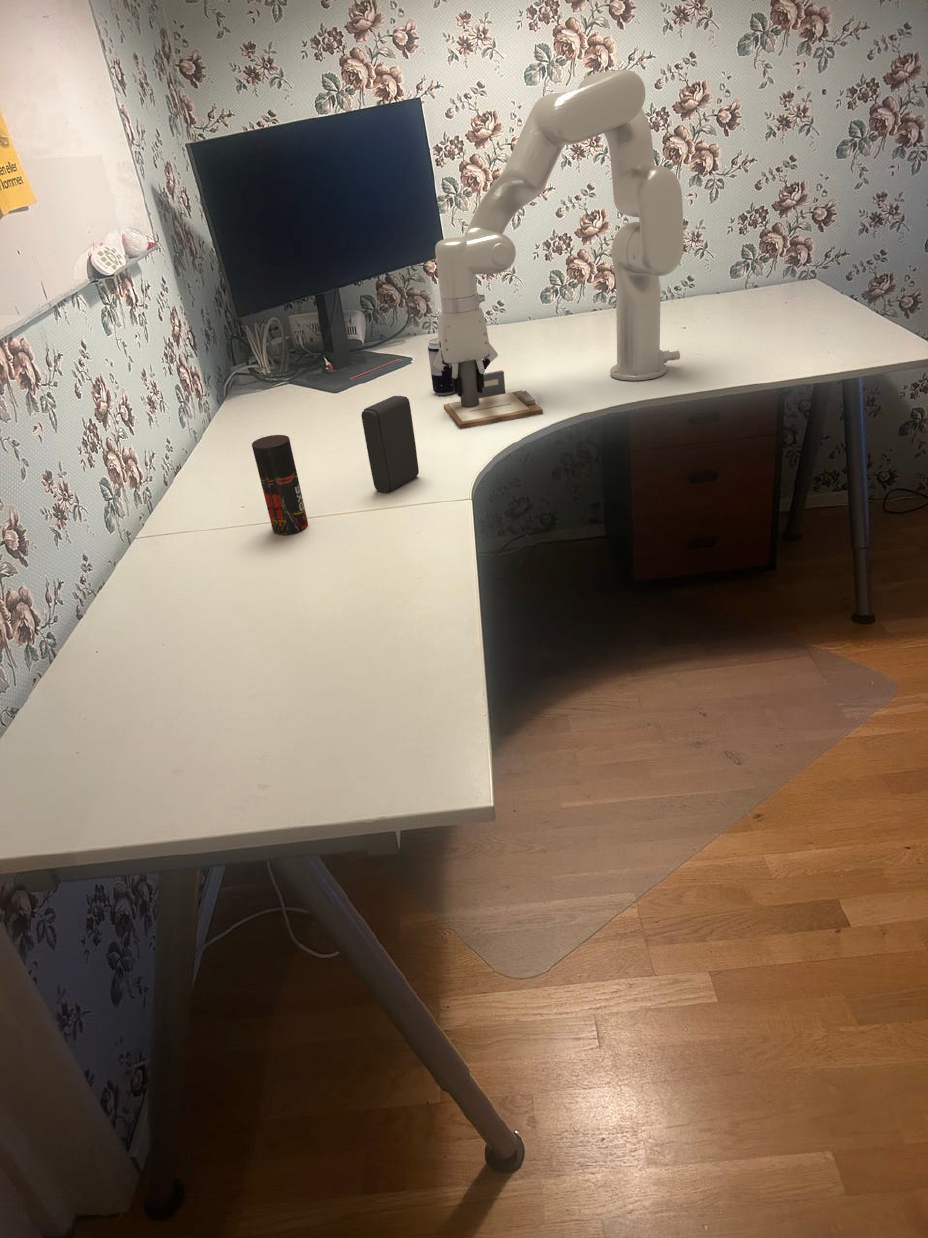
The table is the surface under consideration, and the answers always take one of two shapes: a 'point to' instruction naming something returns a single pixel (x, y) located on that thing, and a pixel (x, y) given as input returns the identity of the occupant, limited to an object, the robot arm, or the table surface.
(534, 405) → the clipboard
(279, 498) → the deodorant
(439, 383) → the beverage can
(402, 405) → the dark grey rounded block
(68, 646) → the table surface
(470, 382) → the marker
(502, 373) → the bar
